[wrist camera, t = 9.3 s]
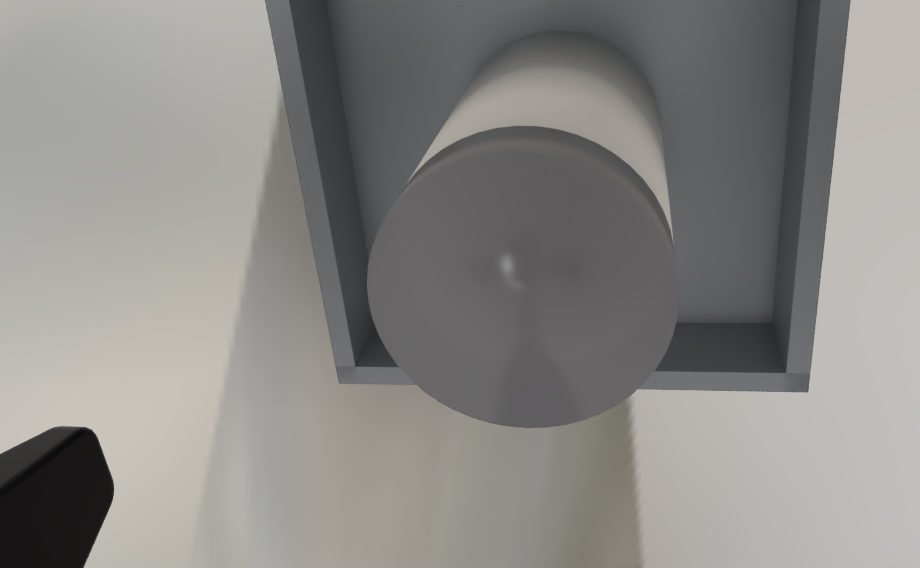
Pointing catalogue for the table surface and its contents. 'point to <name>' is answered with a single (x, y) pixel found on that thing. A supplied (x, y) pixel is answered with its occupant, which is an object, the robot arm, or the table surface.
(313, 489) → the table surface
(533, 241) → the cylinder
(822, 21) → the tray
